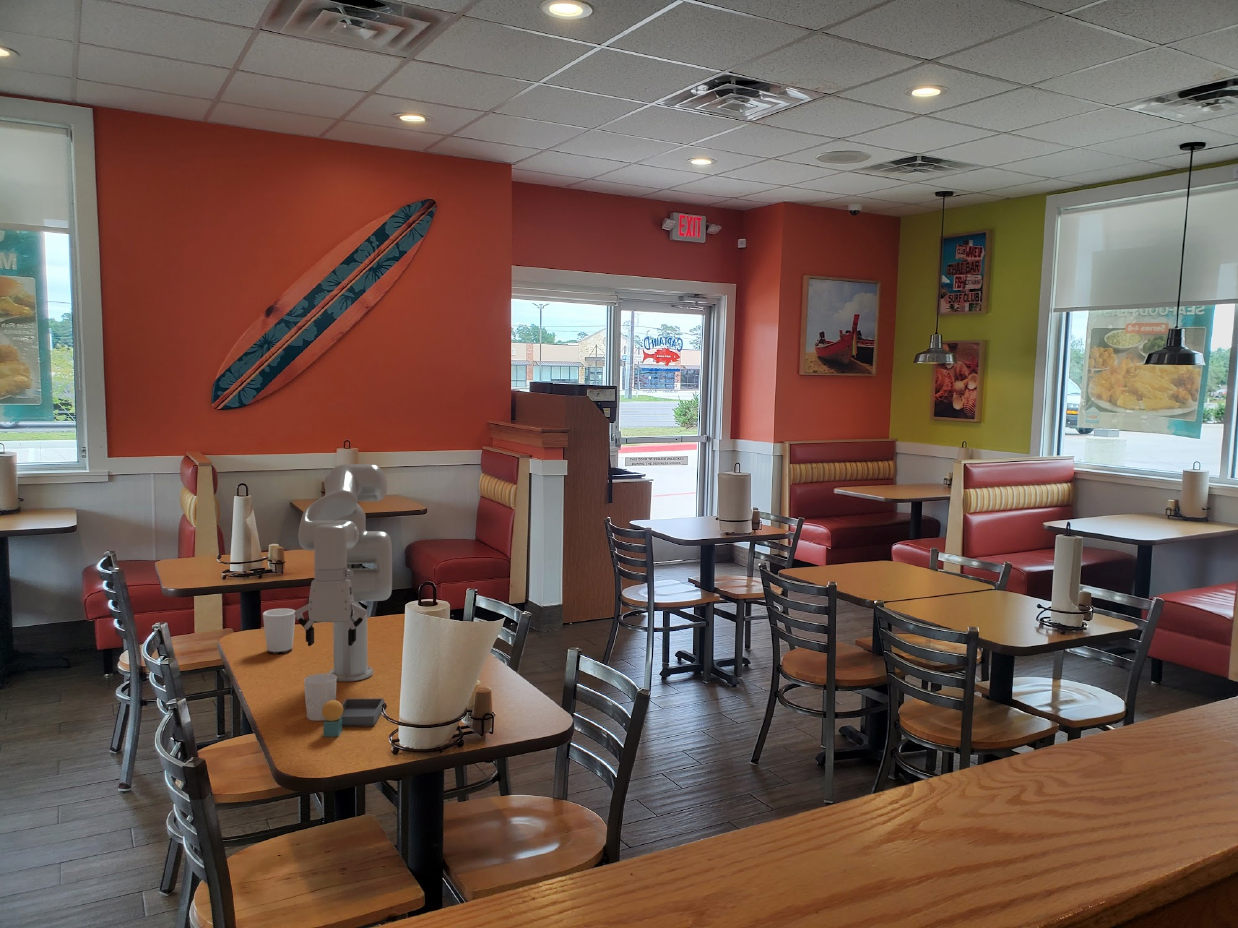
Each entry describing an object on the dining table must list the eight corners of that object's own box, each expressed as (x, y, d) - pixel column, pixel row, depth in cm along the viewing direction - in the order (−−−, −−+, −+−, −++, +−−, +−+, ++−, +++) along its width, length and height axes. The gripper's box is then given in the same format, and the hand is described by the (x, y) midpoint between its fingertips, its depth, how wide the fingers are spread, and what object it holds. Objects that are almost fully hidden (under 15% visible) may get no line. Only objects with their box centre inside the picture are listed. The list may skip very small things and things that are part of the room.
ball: (324, 716, 217) (324, 697, 216) (345, 716, 217) (345, 696, 217) (319, 724, 212) (319, 704, 211) (340, 724, 212) (340, 704, 212)
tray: (345, 708, 232) (345, 698, 232) (384, 707, 233) (384, 698, 233) (333, 726, 219) (333, 716, 219) (374, 726, 220) (374, 716, 220)
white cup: (326, 723, 222) (326, 684, 221) (298, 720, 223) (297, 681, 222) (342, 712, 229) (342, 674, 228) (315, 709, 231) (314, 672, 230)
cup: (284, 644, 289) (284, 606, 288) (302, 650, 283) (302, 611, 282) (256, 651, 281) (256, 612, 280) (274, 657, 275) (274, 617, 274)
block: (327, 730, 216) (327, 716, 216) (342, 730, 217) (342, 716, 216) (323, 736, 213) (323, 722, 212) (338, 736, 213) (338, 721, 213)
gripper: (370, 572, 219) (370, 640, 219) (299, 572, 217) (299, 641, 218) (363, 577, 211) (363, 648, 212) (289, 577, 210) (290, 648, 211)
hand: (331, 644), depth 215 cm, fingers open, 9 cm apart
